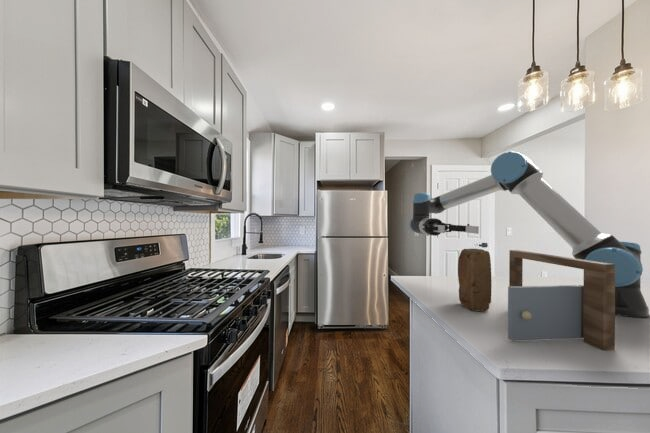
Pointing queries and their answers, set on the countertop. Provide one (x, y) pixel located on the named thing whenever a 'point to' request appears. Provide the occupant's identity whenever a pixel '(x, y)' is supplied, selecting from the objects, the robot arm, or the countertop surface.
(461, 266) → the brown elongated rounded part
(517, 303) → the door
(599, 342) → the door frame
